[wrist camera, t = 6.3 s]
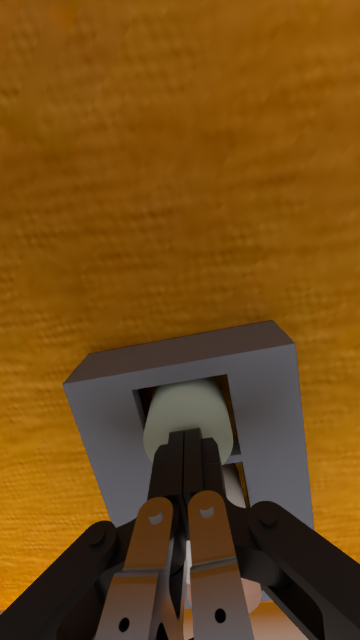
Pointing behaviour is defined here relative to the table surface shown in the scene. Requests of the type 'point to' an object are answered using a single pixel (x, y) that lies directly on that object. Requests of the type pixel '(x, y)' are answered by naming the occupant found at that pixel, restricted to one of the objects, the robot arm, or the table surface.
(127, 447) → the three-slot holder tray
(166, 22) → the table surface
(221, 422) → the sage egg
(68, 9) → the table surface
